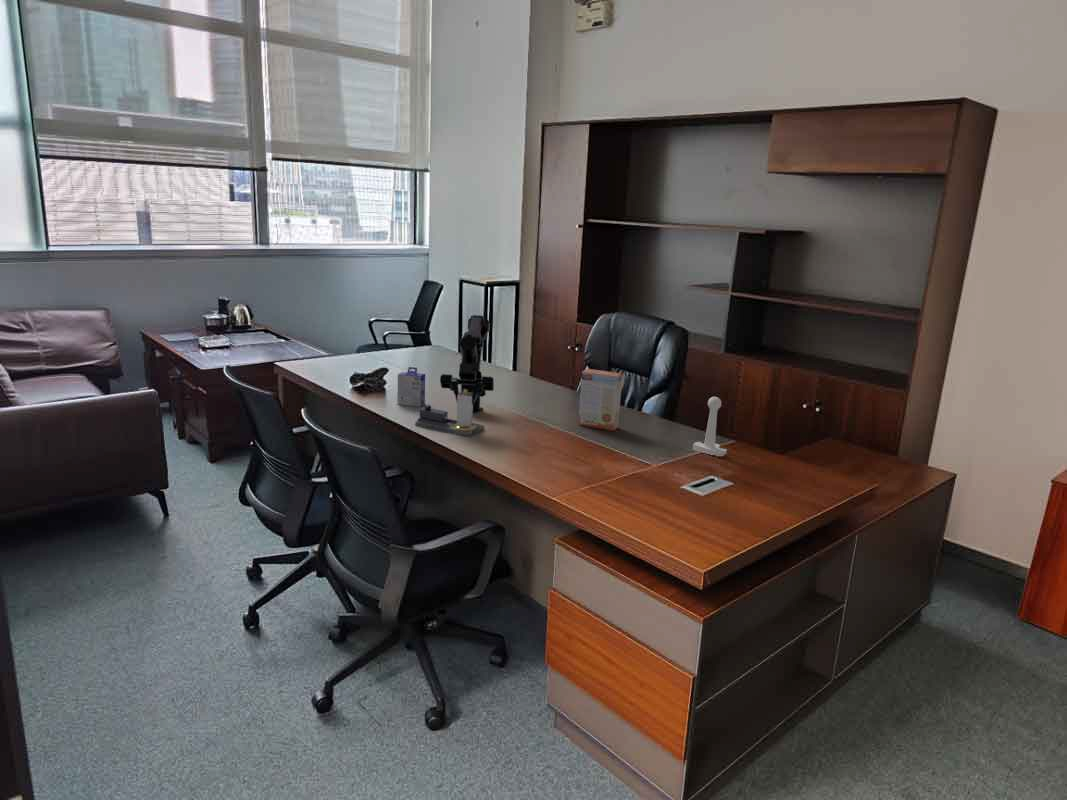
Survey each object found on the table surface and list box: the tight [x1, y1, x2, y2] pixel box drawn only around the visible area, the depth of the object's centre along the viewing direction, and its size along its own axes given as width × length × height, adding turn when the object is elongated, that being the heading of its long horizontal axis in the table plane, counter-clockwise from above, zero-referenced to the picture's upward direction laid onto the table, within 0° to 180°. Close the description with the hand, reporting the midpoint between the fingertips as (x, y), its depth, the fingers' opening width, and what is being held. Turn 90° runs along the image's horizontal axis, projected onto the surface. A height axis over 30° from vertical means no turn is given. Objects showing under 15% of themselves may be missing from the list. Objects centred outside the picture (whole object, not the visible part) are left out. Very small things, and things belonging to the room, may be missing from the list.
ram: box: [419, 404, 449, 423], centre depth 264 cm, size 4×10×5 cm, turn 66°
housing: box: [456, 389, 474, 426], centre depth 259 cm, size 5×5×12 cm
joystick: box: [692, 396, 728, 457], centre depth 250 cm, size 11×8×20 cm
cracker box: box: [578, 368, 623, 432], centre depth 271 cm, size 14×6×21 cm, turn 65°
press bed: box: [414, 417, 485, 438], centre depth 263 cm, size 10×22×2 cm, turn 66°
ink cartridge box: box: [397, 366, 426, 407], centre depth 288 cm, size 10×6×14 cm, turn 78°
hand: (464, 403), depth 257 cm, fingers closed on housing, 5 cm apart
